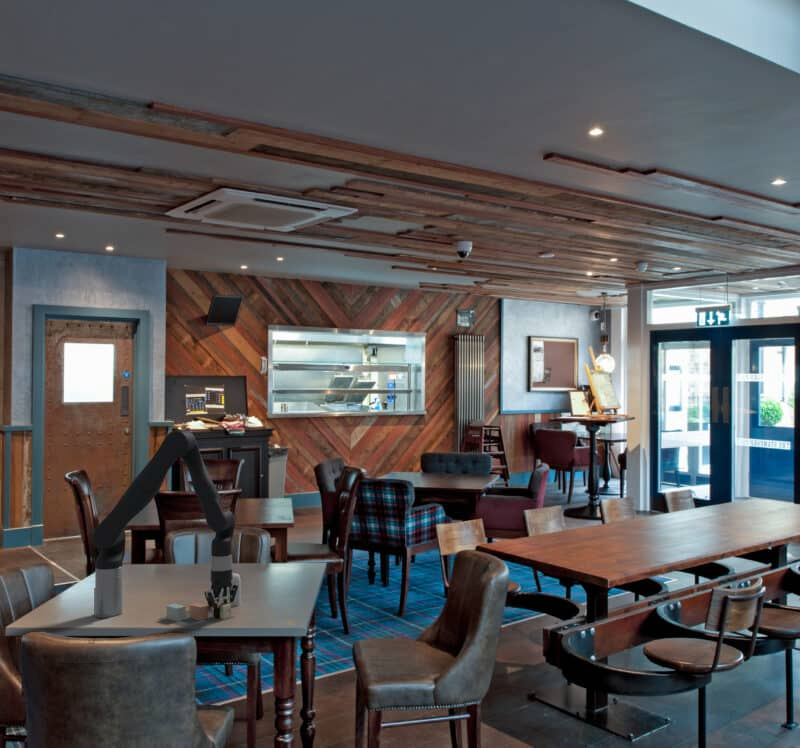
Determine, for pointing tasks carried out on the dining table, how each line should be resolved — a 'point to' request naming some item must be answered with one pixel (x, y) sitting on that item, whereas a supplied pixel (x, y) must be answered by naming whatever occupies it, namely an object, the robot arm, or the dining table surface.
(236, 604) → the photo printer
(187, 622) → the charcoal mat
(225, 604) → the maple brick
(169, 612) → the grey green brick
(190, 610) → the terracotta brick
